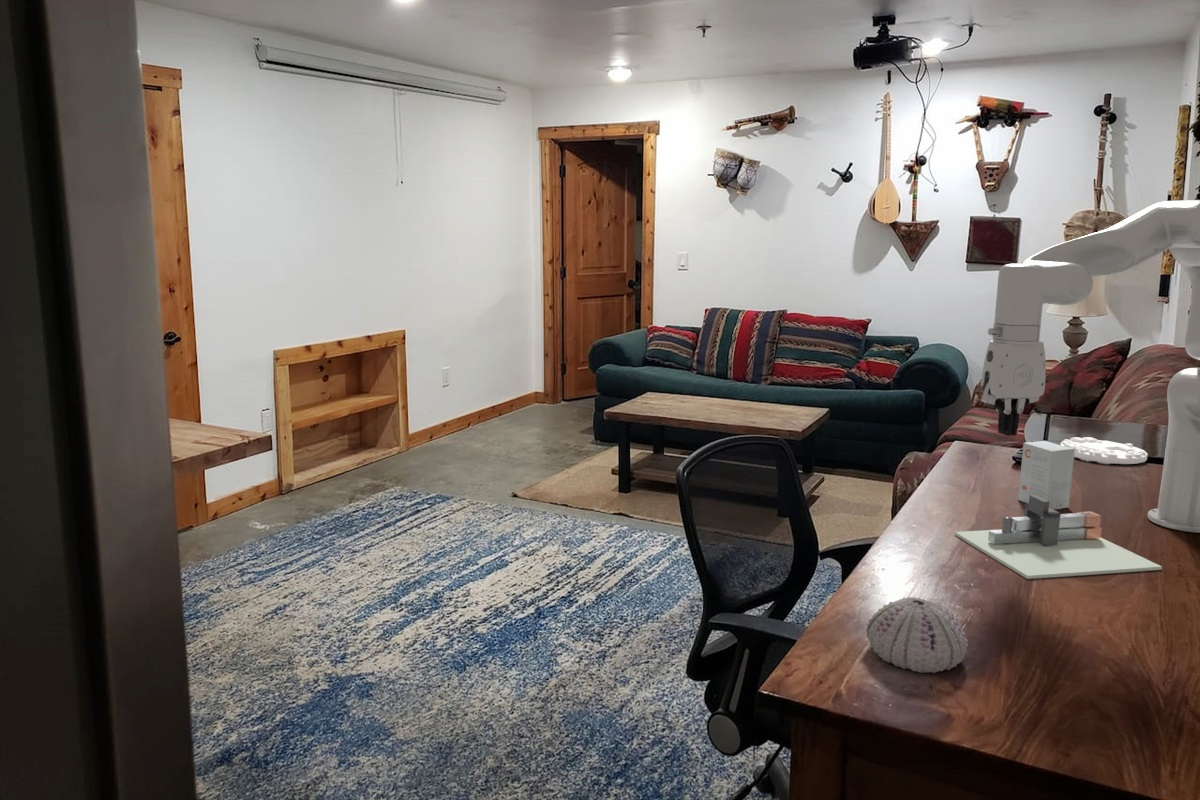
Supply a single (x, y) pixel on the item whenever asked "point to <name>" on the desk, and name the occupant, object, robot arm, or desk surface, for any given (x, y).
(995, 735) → the desk surface
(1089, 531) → the base
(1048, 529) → the lock collar
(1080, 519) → the jaw
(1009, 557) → the mat
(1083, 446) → the embossed medallion
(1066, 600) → the desk surface
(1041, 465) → the small box
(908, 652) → the sea urchin shell
